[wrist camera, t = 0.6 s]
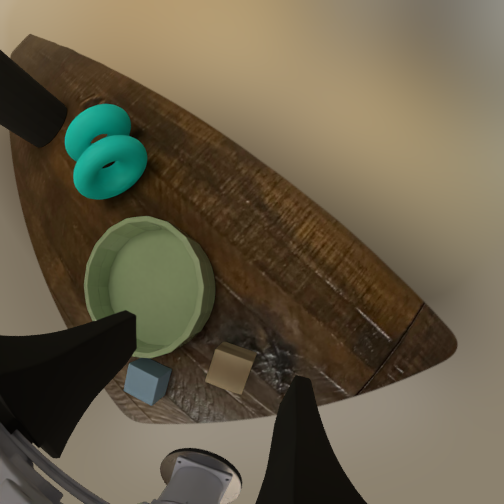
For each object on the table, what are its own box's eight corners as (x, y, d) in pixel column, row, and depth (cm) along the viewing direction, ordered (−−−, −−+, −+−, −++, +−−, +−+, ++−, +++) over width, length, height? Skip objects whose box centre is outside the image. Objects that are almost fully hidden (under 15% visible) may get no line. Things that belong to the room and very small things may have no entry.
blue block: (165, 394, 30) (151, 406, 26) (138, 381, 30) (123, 390, 26) (172, 369, 30) (158, 378, 26) (144, 356, 31) (128, 363, 27)
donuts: (138, 124, 35) (105, 87, 25) (162, 168, 33) (125, 131, 24) (89, 163, 35) (50, 137, 25) (107, 211, 34) (60, 190, 24)
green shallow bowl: (194, 368, 30) (180, 381, 25) (96, 319, 32) (73, 322, 27) (233, 246, 31) (224, 239, 26) (127, 213, 33) (106, 203, 28)
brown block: (246, 382, 29) (241, 395, 25) (214, 370, 29) (204, 381, 25) (257, 352, 29) (253, 362, 25) (224, 340, 30) (215, 348, 26)
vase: (36, 157, 38) (-67, 96, 8) (33, 129, 39) (-52, 70, 10) (70, 121, 38) (-30, 40, 8) (64, 97, 39) (-17, 24, 10)
